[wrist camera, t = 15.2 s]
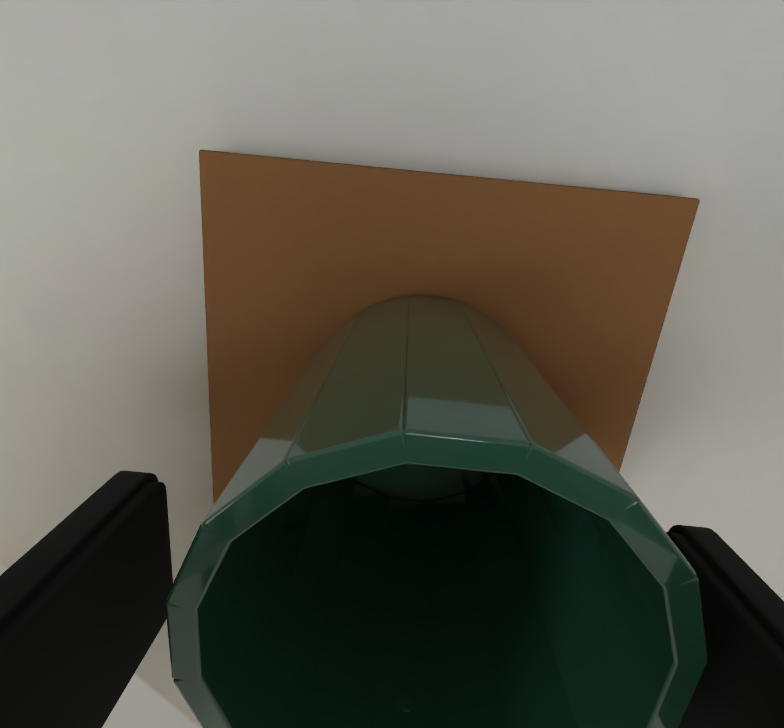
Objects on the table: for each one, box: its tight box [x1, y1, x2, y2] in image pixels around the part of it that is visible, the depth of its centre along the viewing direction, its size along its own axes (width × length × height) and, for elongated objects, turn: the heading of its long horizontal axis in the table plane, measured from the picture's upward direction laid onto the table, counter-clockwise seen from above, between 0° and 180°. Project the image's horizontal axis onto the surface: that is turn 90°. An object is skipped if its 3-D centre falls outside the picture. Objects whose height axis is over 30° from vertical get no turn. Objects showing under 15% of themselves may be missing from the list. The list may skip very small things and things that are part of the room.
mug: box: [166, 295, 708, 728], centre depth 11 cm, size 10×7×9 cm
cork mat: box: [199, 150, 699, 504], centre depth 15 cm, size 14×14×1 cm
